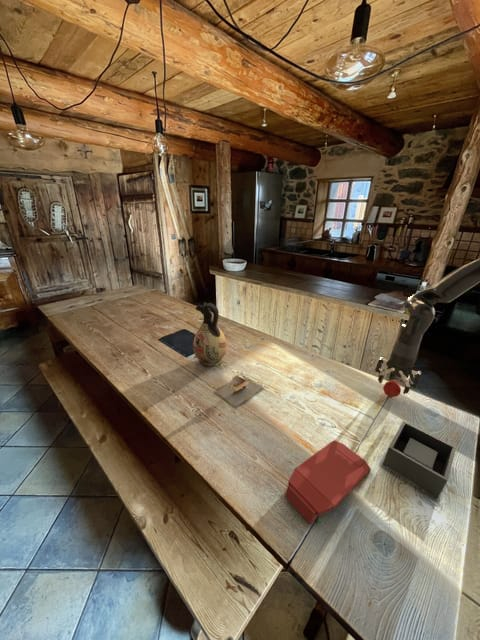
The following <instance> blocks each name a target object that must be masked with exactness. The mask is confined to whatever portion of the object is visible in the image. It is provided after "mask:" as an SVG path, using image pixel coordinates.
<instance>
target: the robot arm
mask: <svg viewBox="0 0 480 640" xmlns="http://www.w3.org/2000/svg"><path fill="white" fill-rule="evenodd" d="M479 283H480V257H479V258H477V259H475V260H472V261H471V262H468V263H467V264H464V265H462V266H459V267H457V268H456V269H455V270H452V271H451V272H449V273H448V274H447V275H445V276H444V277H442V278H441V279H440V280H438V282H436V283H434V284H433V285H432V286H430V287H426V288H425V289H422V290H421V291H418V292H417V293H415V294H412V296H410V297H408V298H407V300H406V301H405V303H404V304H403V311H404V313H405V314H406V315H407V316H408V320H407V322H405V323H403V324H401V326H400V328H399V330H398V333H397V336H396V339H395V341H394V343H393V346H392V350H391V353H390V355H389V359H388V360H387V359H386V358H385V357H384V356H381V357H380V358H379V359H378V361H377V364H376V367H375V369H374V372H375V373H378V374H379V375H378V379H377V381H378V383H379V384H382V383H383V381H384V379H385V376H386V375H388V374H391V375H393V376H396V377H397V378H401V379H402V381H403V382H404V384H405V387H404V389H403V392H402V394H403V395H406V394H408V393H409V392H410V390H411V388H413V389H417V387H418V386H419V383H420V380H421V377H422V371H421V370H417V371H416V370H413V366H414V363H415V362H416V358H417V355H418V353H419V349H420V344H421V342H422V339H423V336H424V334H425V333H426V331H427V330H428V329H429V327H430V326H431V324H432V323H433V322H434V319H435V316H436V310H435V309H436V308H435V307H434V306H435V305H437V304H439V303H443V304H449V303H451V302H452V301H454V300H455V299H457V298H458V297H460V296H461V295H463V294H464V293H466V292H467V291H469V290H470V289H472V288H473V287H475V286H477V285H478V284H479ZM385 364H386V367H385V368H384V369H382V366H383V365H385ZM411 374H412V377H413V378H414V379H413V381H412V380H411V376H410V375H411Z"/></svg>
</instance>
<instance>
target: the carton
mask: <svg viewBox="0 0 480 640" xmlns="http://www.w3.org/2000/svg"><path fill="white" fill-rule="evenodd" d="M371 470H372V468H371V467H370V465H369V464H368V463H367V461H366V460H365V459H364V458H363V457H361V456H360V455H358V454H357V453H356V452H355V451H353V450H352V449H351V448H349V447H348V446H347V445H345V444H344V443H342V442H339V441H336V440H333V439H332V441H330V442H329V443H328V444H326V445H325V446H323V447H322V448H321V449H320V450H318V451H317V452H315V453H314V454H313V455H311V456H310V457H309V458H307V459H306V460H305V461H303V462H302V463H301V464H299V465H298V466H296V467H295V468H294V470H293V472H292V474H291V475H290V478H289V480H288V486H287V488H286V492H285V495H284V496H285V499H286V500H287V501H288V502H289V503H290V505H292V506H293V507H294V508H295V509H296V511H298V512H299V514H300V515H301V516H302V518H304V520H305V521H306V522H307V523H308V524H309V525H311V524H313V523H314V522H315V521H316V518H317V516H318V517H320V516H322V515H325V514H326V513H329V512H331V511H333V510H334V509H336V508H337V506H338V505H339V504H340V503H341V502H342V501H343V500H344V499H345V498H346V497H347V496H348V495H350V493H351V492H352V491H353V490H354V489H355V488H356V487H357V486H358V485H359V484H360V483H361V482H362V481H363V480H364V479H365V478H366V477H367V475H368V474H369V473H370V472H371Z"/></svg>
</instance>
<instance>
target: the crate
mask: <svg viewBox="0 0 480 640" xmlns="http://www.w3.org/2000/svg"><path fill="white" fill-rule="evenodd" d="M410 438H412V439H414V440H416V441H418V442H419V443H421V444H423V445H425V446H427V447H429V448H431V449H433V450H435V451H436V452H438V453H437V456H436V459H435V462H434V465H433V468H432V470H431V469H429V468H428V467H426V466H424V465H422V464H421V463H419V462H417V461H415V460H414V459H412V458H410V457H408V456H407V455H405V454H403V452H404V450H405V448H406V445H407V443H408V441H409V439H410ZM456 452H457V446H455V445H452V444H451V443H449V442H447V441H445V440H443V439H441V438H439V437H437V436H435V435H433V434H431V433H429V432H427V431H425V430H423V429H421V428H419V427H417V426H415V425H413V424H412V423H409V422H407V421H405V420H403V421H402V422H401V424H400V426H399V427H398V429H397V431H396V433H395V435H394V437H393V438H392V440H391V443H390V444H389V446H388V448H387V451H386V454H385V456H384V459H383V461H382V465H383V466H385V467H387V469H390V470H391V471H393V472H395V473H396V474H398V475H399V476H401V477H403V478H404V479H406V480H407V481H409V482H410V483H412V484H414V485H415V486H417V487H418V488H420V489H422V490H423V491H425V492H426V493H428V494H429V495H432V496H433V497H434V498H436V499H439V497H440V495H441V493H442V492H443V490H444V488H445V486H446V484H447V483H448V480H449V477H450V473H451V470H452V465H453V462H454V459H455V455H456Z"/></svg>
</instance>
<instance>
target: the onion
mask: <svg viewBox="0 0 480 640" xmlns="http://www.w3.org/2000/svg"><path fill="white" fill-rule="evenodd" d="M382 389H383V393H384V394H385V395H386V396H387V397H389V398H395V397H396V398H397V397H398V396H400V395H401V392H402V389H401V385H400V384H399V383H398V380H396V379H393V380H389V381H386V382H385V383H384V384H383V387H382Z"/></svg>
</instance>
